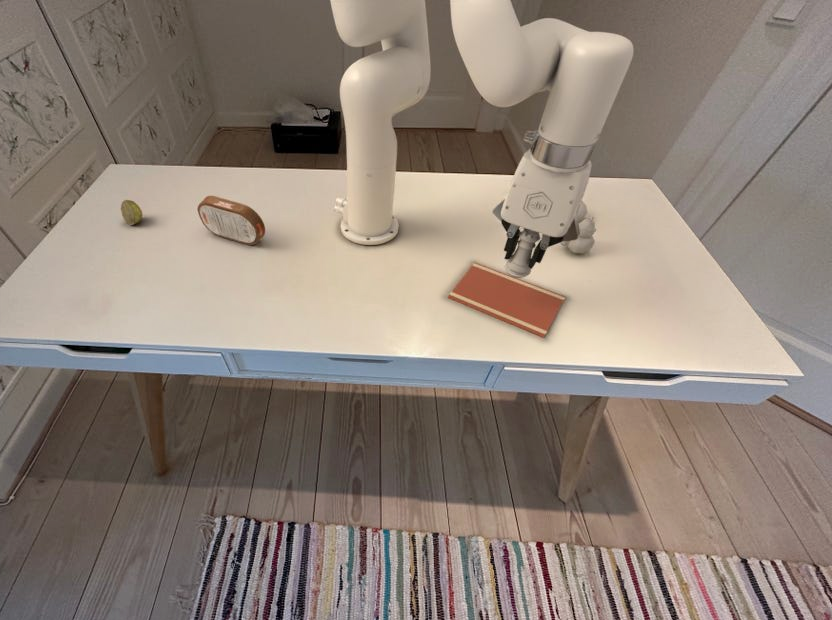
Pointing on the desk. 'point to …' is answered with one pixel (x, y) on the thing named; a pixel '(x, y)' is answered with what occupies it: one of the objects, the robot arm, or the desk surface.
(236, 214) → the tin
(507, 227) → the robot arm
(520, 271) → the rook chess piece
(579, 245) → the grey lumpy figurine
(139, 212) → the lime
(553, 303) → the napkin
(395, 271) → the desk surface
